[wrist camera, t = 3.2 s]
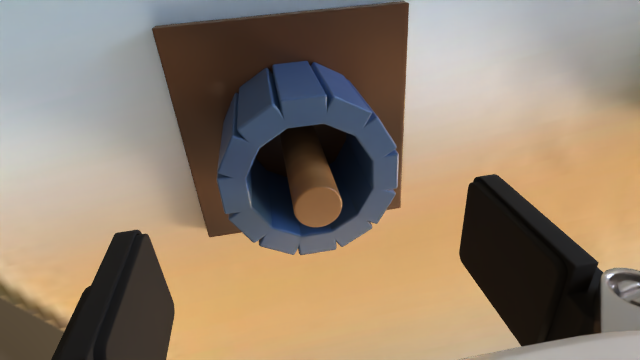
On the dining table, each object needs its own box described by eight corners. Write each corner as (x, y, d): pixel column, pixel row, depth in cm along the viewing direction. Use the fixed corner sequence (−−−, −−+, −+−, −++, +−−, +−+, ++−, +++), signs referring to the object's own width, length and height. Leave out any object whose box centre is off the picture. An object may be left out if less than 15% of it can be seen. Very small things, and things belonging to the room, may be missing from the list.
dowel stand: (154, 25, 15) (101, 70, 10) (404, 0, 16) (487, 28, 11) (210, 230, 20) (196, 337, 15) (397, 201, 21) (450, 292, 16)
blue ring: (210, 71, 16) (199, 109, 12) (366, 53, 16) (402, 85, 13) (238, 202, 19) (237, 266, 15) (367, 183, 20) (396, 240, 16)
